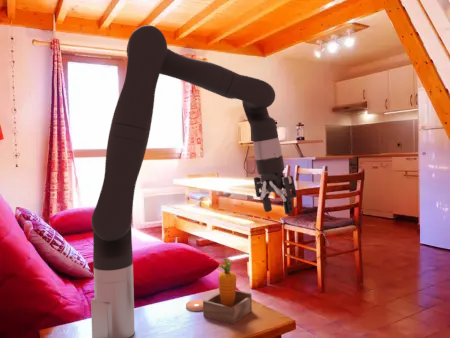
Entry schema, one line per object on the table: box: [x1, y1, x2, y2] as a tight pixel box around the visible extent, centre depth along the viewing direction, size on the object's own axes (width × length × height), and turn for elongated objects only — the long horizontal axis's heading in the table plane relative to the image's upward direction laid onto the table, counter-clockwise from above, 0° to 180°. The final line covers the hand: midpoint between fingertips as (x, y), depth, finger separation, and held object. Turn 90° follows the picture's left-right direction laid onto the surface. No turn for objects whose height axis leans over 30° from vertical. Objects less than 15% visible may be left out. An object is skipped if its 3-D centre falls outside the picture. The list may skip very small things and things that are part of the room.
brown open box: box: [202, 289, 253, 325], centre depth 103 cm, size 10×10×5 cm
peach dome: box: [185, 298, 206, 312], centre depth 109 cm, size 7×7×1 cm
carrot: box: [218, 257, 237, 307], centre depth 103 cm, size 5×5×15 cm
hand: (278, 212), depth 106 cm, fingers open, 8 cm apart
